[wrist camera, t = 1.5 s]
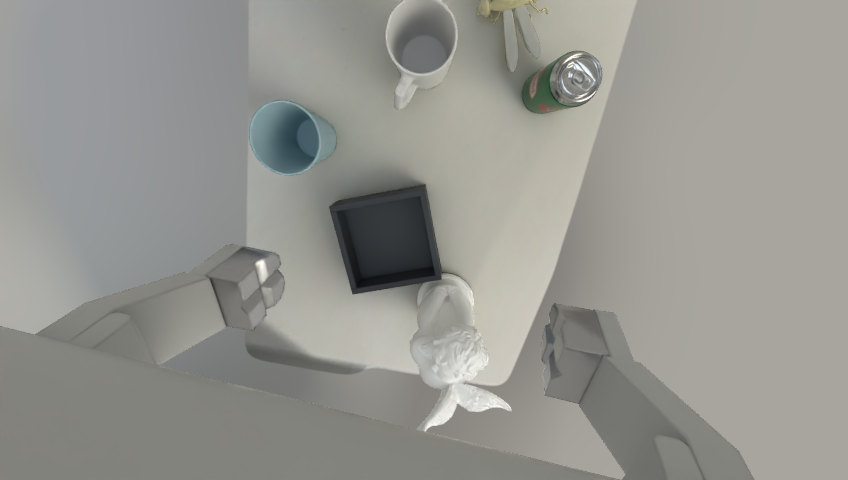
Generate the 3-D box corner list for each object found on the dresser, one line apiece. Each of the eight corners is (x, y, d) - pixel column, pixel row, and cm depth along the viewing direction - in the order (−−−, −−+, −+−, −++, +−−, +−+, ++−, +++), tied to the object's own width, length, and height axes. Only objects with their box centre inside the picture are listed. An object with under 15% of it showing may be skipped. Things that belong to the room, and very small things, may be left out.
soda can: (537, 63, 43) (575, 36, 32) (569, 86, 44) (618, 68, 32) (513, 99, 44) (541, 86, 33) (544, 122, 45) (582, 116, 34)
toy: (548, 70, 43) (562, 62, 39) (477, 81, 44) (482, 75, 39) (543, -70, 39) (558, -99, 35) (465, -56, 40) (469, -82, 35)
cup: (290, 166, 48) (252, 174, 38) (285, 107, 45) (244, 98, 35) (345, 168, 47) (322, 176, 38) (343, 109, 45) (318, 101, 35)
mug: (412, 21, 42) (404, -22, 31) (460, 48, 43) (470, 16, 31) (378, 101, 45) (360, 88, 33) (424, 125, 46) (422, 121, 34)
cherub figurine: (442, 254, 51) (449, 338, 30) (509, 298, 52) (561, 406, 31) (398, 315, 54) (375, 430, 33) (462, 354, 55) (481, 488, 34)
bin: (337, 200, 49) (328, 206, 44) (425, 184, 48) (424, 188, 44) (359, 281, 52) (352, 294, 48) (441, 267, 51) (441, 279, 47)
